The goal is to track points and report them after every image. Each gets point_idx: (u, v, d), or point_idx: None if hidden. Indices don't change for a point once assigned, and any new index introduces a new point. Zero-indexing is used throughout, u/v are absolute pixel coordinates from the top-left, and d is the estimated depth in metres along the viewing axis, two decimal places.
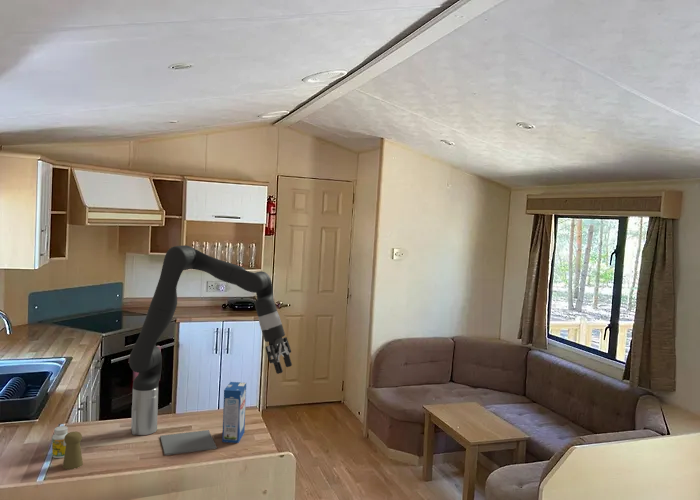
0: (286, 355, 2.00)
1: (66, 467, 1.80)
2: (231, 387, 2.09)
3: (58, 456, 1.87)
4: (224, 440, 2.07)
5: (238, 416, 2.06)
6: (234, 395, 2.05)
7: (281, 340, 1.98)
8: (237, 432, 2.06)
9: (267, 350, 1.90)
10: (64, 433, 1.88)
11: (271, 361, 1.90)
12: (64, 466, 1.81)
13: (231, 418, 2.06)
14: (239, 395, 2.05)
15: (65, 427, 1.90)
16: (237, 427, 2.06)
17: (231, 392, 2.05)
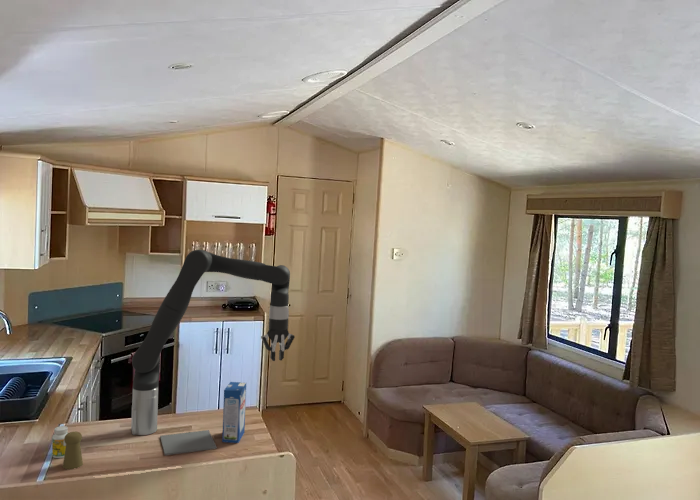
0: (280, 349, 2.16)
1: (66, 467, 1.80)
2: (231, 387, 2.09)
3: (58, 456, 1.87)
4: (224, 440, 2.07)
5: (238, 416, 2.06)
6: (234, 395, 2.05)
7: (285, 331, 2.15)
8: (237, 432, 2.06)
9: (262, 339, 2.14)
10: (64, 433, 1.88)
11: (266, 348, 2.14)
12: (64, 466, 1.81)
13: (231, 418, 2.06)
14: (239, 395, 2.05)
15: (65, 427, 1.90)
16: (237, 427, 2.06)
17: (231, 392, 2.05)
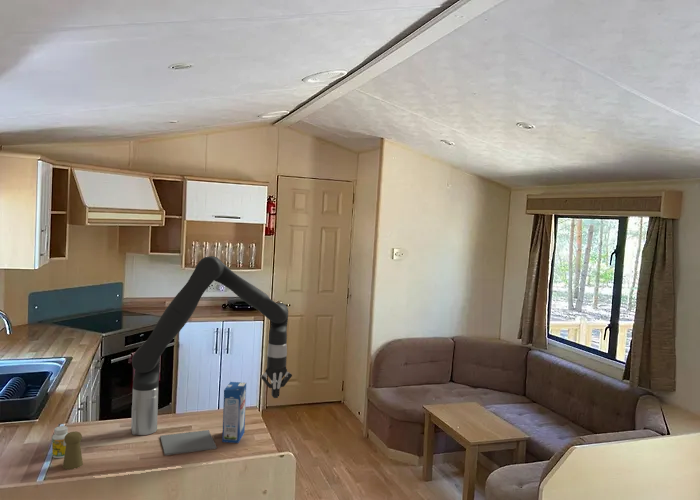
0: (276, 387, 2.17)
1: (66, 467, 1.80)
2: (231, 387, 2.09)
3: (58, 456, 1.87)
4: (224, 440, 2.07)
5: (238, 416, 2.06)
6: (234, 395, 2.05)
7: (283, 368, 2.17)
8: (237, 432, 2.06)
9: None
10: (64, 433, 1.88)
11: None
12: (64, 466, 1.81)
13: (231, 418, 2.06)
14: (239, 395, 2.05)
15: (65, 427, 1.90)
16: (237, 427, 2.06)
17: (231, 392, 2.05)
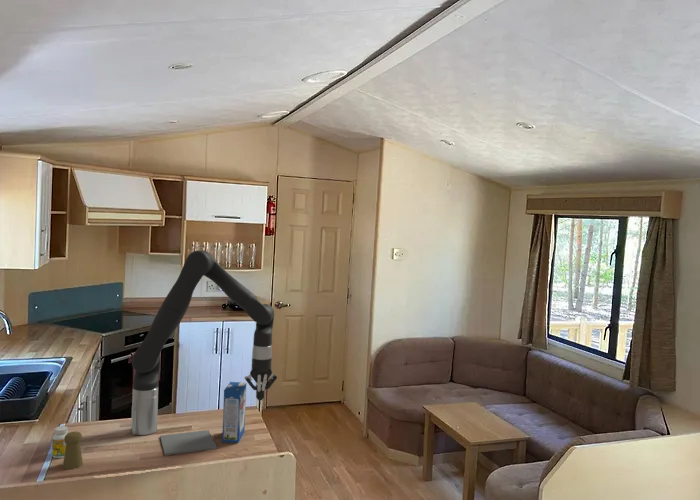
0: (261, 389, 2.14)
1: (66, 467, 1.80)
2: (231, 387, 2.09)
3: (58, 456, 1.87)
4: (224, 440, 2.07)
5: (238, 416, 2.06)
6: (234, 395, 2.05)
7: (268, 370, 2.14)
8: (237, 432, 2.06)
9: (246, 380, 2.13)
10: (64, 433, 1.88)
11: None
12: (64, 466, 1.81)
13: (231, 418, 2.06)
14: (239, 395, 2.05)
15: (65, 427, 1.90)
16: (237, 427, 2.06)
17: (231, 392, 2.05)
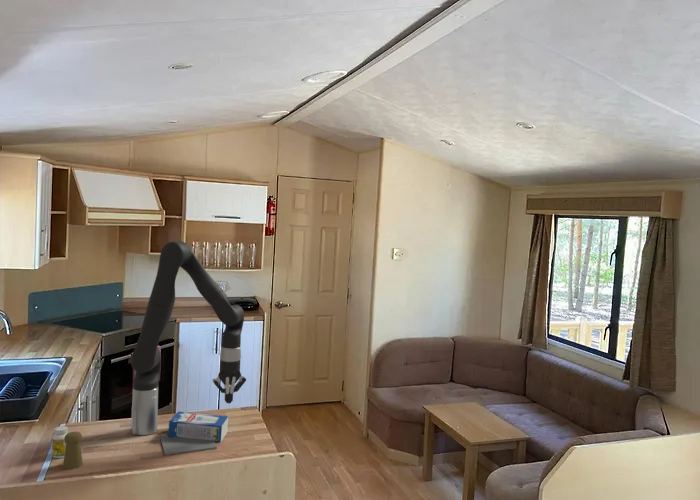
0: (229, 392, 2.09)
1: (66, 467, 1.80)
2: None
3: (58, 456, 1.87)
4: (219, 439, 2.07)
5: (194, 424, 2.06)
6: (173, 427, 2.07)
7: (237, 372, 2.09)
8: (211, 426, 2.06)
9: None
10: (64, 433, 1.88)
11: None
12: (64, 466, 1.81)
13: (196, 431, 2.07)
14: (173, 422, 2.07)
15: (65, 427, 1.90)
16: (206, 426, 2.06)
17: (170, 430, 2.07)
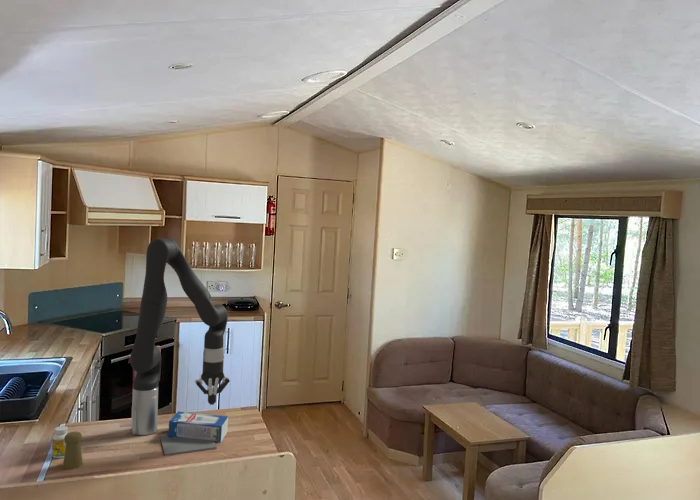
0: (212, 393, 2.07)
1: (66, 467, 1.80)
2: None
3: (58, 456, 1.87)
4: (219, 439, 2.07)
5: (194, 424, 2.06)
6: (173, 427, 2.07)
7: (220, 373, 2.06)
8: (211, 426, 2.06)
9: None
10: (64, 433, 1.88)
11: None
12: (64, 466, 1.81)
13: (196, 431, 2.07)
14: (173, 422, 2.07)
15: (65, 427, 1.90)
16: (206, 426, 2.06)
17: (170, 430, 2.07)
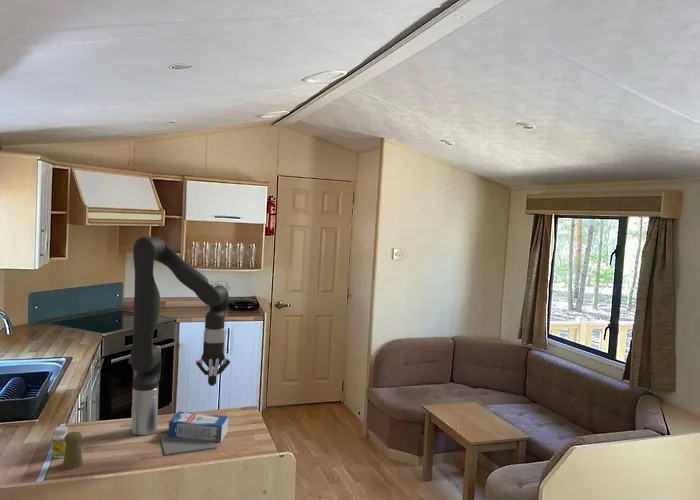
0: (213, 374, 2.06)
1: (66, 467, 1.80)
2: None
3: (58, 456, 1.87)
4: (219, 439, 2.07)
5: (194, 424, 2.06)
6: (173, 427, 2.07)
7: (221, 354, 2.06)
8: (211, 426, 2.06)
9: None
10: (64, 433, 1.88)
11: None
12: (64, 466, 1.81)
13: (196, 431, 2.07)
14: (173, 422, 2.07)
15: (65, 427, 1.90)
16: (205, 426, 2.06)
17: (170, 430, 2.07)
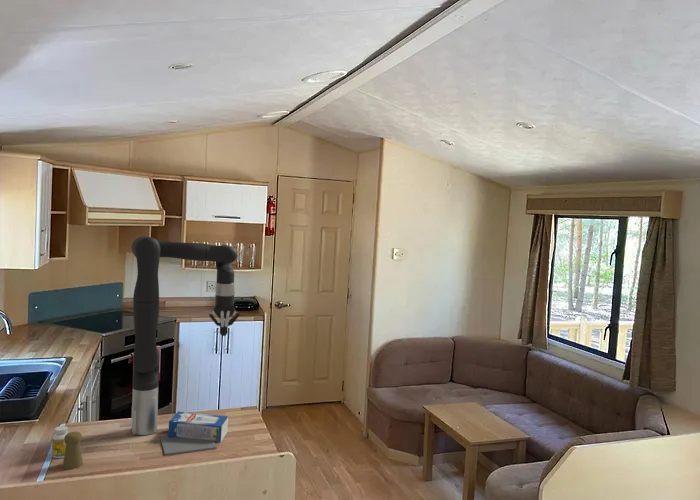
0: (224, 325, 2.26)
1: (66, 467, 1.80)
2: None
3: (58, 456, 1.87)
4: (219, 439, 2.07)
5: (194, 424, 2.06)
6: (173, 427, 2.07)
7: (231, 307, 2.26)
8: (211, 426, 2.06)
9: (210, 317, 2.24)
10: (64, 433, 1.88)
11: (216, 323, 2.25)
12: (64, 466, 1.81)
13: (196, 431, 2.07)
14: (173, 422, 2.07)
15: (65, 427, 1.90)
16: (205, 426, 2.06)
17: (170, 430, 2.07)
